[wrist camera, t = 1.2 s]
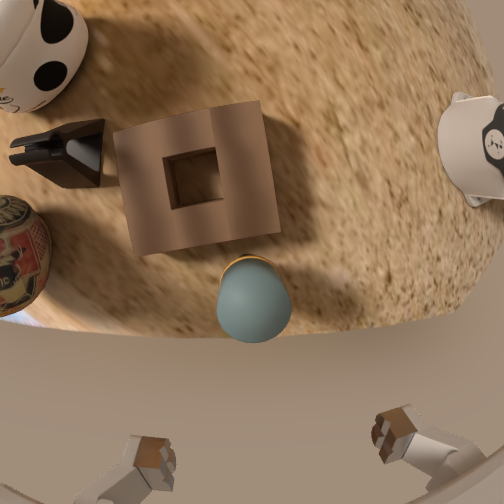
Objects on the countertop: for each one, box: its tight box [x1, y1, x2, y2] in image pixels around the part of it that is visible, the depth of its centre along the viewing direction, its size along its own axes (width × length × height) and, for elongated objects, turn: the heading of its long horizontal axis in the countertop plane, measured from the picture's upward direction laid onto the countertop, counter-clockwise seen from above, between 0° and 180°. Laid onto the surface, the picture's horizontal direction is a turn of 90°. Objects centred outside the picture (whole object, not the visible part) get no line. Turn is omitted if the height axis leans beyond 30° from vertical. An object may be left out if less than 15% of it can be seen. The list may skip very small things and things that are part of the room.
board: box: [113, 100, 281, 257], centre depth 30 cm, size 16×14×5 cm
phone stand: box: [9, 119, 105, 188], centre depth 25 cm, size 9×6×12 cm, turn 175°
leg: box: [217, 254, 291, 343], centre depth 30 cm, size 6×6×12 cm
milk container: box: [0, 0, 88, 113], centre depth 18 cm, size 17×17×18 cm
